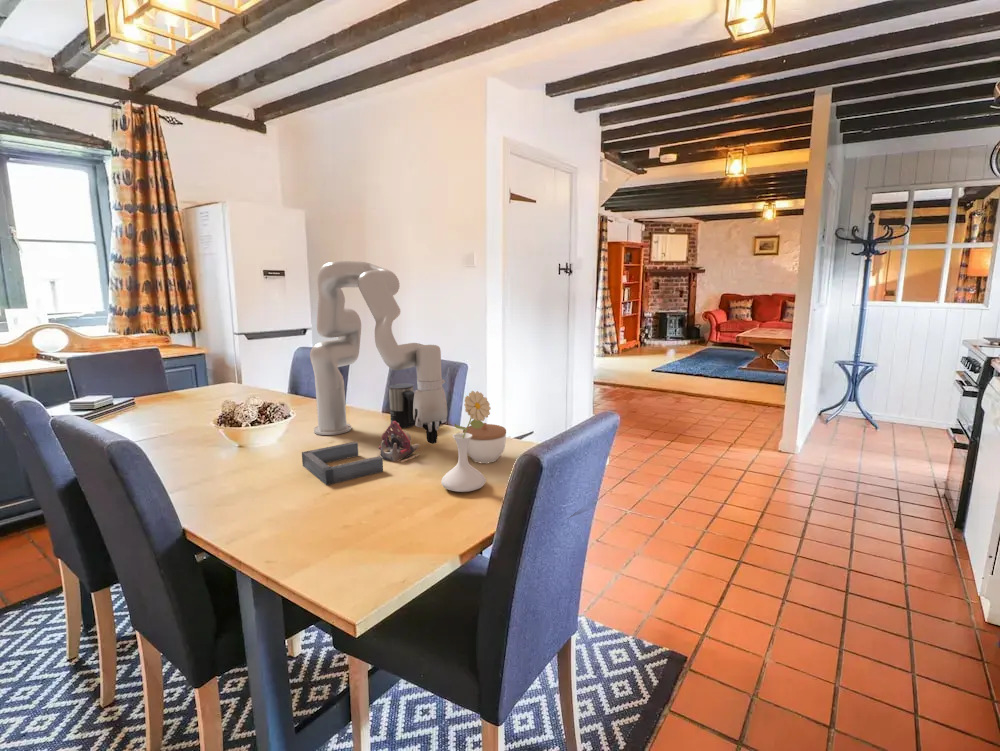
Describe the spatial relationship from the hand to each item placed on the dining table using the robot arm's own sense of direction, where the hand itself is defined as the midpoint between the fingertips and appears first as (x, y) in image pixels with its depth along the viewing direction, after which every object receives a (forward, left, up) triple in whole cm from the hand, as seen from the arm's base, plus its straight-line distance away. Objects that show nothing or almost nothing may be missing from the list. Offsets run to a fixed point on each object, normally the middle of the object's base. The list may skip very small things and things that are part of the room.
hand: (432, 442), depth 169 cm
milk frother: (-29, +9, -2) cm, 30 cm away
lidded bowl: (+19, +7, -2) cm, 20 cm away
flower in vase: (+33, -9, -2) cm, 34 cm away
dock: (0, -28, -2) cm, 28 cm away
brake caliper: (0, -12, -2) cm, 12 cm away
